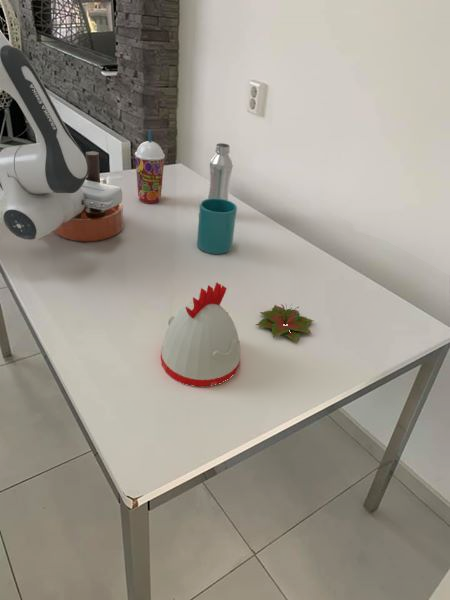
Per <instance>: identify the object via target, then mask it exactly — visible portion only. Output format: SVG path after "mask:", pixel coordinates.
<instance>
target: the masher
mask: <svg viewBox="0 0 450 600" xmlns="http://www.w3.org/2000/svg"><path fill="white" fill-rule="evenodd" d="M99 155H100V154H99V151H98V152H97V151H91V150H90V151H86V152H85V157H86V160H87V163H88V174H87V180H89V181H94V182H97V180H99V179H101V173H100V156H99ZM85 211H86V216H87V217H88V218H91V219H96V218H101V217H105V216H106V210H99V209H94V208H90V207H87V208H86V209H85Z"/></svg>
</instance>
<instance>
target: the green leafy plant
mask: <svg viewBox="0 0 450 600" xmlns="http://www.w3.org/2000/svg"><path fill="white" fill-rule="evenodd" d="M292 304H293V303H291V304H290V306H292ZM280 305H281V306H278V305H276V304H274V305H273V307H272V309H271V310H270V309H269V310H265V311H260V312H259V313H260V314H261V315H262V316H263V317H265V318H262V319H261V320H259V322H258V323H256V324H255V326H258V327H262V328H265V329H266V328H267V329H271V331H272V334H273V335H272V338H273V339H274V338H276V337H278V336H280V335H284V336H286V337H287V338H289V339H290V340H292V341H294V342H295V343H297V344H298V341H299V339H300V337H301V332H302V333H305V334H308V335H313V333H312V332H311V330H310V329H309V328H310V327H308V326H309V325H310V324H312V323H313V322H314V320H313V319H310V318H307V317H306V316H301V315H300V311H299V310H297V309H299V306H297V307H295V308H294V309H292V308H293V307H290V308H287V307H288V305H287V304H285V306H286V307H285V306H284V305H283V304H280ZM283 324H285V325H286V324H288V326H283ZM289 330H290V332H291V333H290V332H289Z"/></svg>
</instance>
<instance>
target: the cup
mask: <svg viewBox="0 0 450 600" xmlns="http://www.w3.org/2000/svg"><path fill="white" fill-rule="evenodd" d="M237 211H238V206H237V205H236V203H234V202H233V201H230V200H229V199H228V200H224V199H217V198H212V199H208V198H206V199H203V200H202V201H200V202H199V211H198V223H197V237H196V245H197V248H199V249H200V250H201V251H203V252H204V253H206V254H212V255H222V254H226V253H228V252H230V251H231V250H232V248H233V243H234V236H235V228H236V218H237Z"/></svg>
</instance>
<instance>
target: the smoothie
mask: <svg viewBox="0 0 450 600" xmlns="http://www.w3.org/2000/svg"><path fill="white" fill-rule="evenodd" d="M165 156H166V154H165V153H164V151H163V149H162V147H161V146H160V145H159V144H158V143H157V142H155V141H152V131H151V130H150V131H148V140H147V141H144V142H141V144H139V146H138V147H137V149H136V151H135V153H134V157H135V170H136V171H135V172H136V185H137V186H136V187H137V196H138V198H139V201H140V202H141V203H145V204H156V203H158V202H159V201H160V199H161V198H162V190H163V177H164V165H165Z"/></svg>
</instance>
